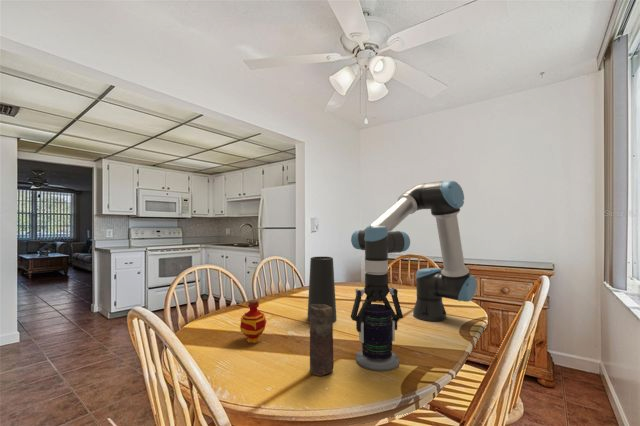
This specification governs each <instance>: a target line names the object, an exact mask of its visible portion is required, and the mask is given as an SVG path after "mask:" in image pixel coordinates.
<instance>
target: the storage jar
mask: <svg viewBox="0 0 640 426" xmlns="http://www.w3.org/2000/svg"><path fill="white" fill-rule="evenodd" d="M392 309H393V307H392V308H391V309H388V308H387V307H386V306H385V304H384V303H383V304H382V303H371V304H370V305H369V307H368V309H367V310H365V309H364V312H365V314H364V317H363V319H362V321H363V323H364V343H361V348H362V349H361V350H362V353H363V355H364V356H365V357H367V358H370V359H374V360H385V359H389V358H390V357H391V356H392V351H393V341H392V337H391V326H392V313H391V311H392Z"/></svg>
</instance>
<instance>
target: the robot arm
mask: <svg viewBox="0 0 640 426" xmlns="http://www.w3.org/2000/svg"><path fill="white" fill-rule="evenodd" d="M464 200H465V194H464V191H463V187H461V185H460V184H459V183H458V182H457V181H455V180H441V181H435V182H434V181H433V182H426V183H425V182H424V183H423V182H422V183H419V184H417V185H414V186H413V187H411V188H410V189H408V190H406V191H405V192H403V193H402V194H401V195H400V196H399V197H398V198H397V201H396V202H395V203H394V204H393V205H391V206H390V207H389V208H388V209H387V210H386V211H384V212H383V213H382V214H380V216H378V217H377V218H376V219H375V220H374V221H373V222H372V223H371V224H369V225H368V226H366V227H365V229H364V230H363V229H360V230H355V231H354V232H353V233H352V235H351V238H350V243H351V245H352V247H353V248H354V249H355V250H359V251H360V250H361V251H364V271H365V274H364V288H362V289H359V288H356V289H355V298H354V302H353V306H352V309H351V310H352V311H351V313H350V319H351V320H352V321H355V326H356V327H355V329H356V331H357V333H358V336H359V337H358V340H359V342H360V343H361V344H362V343H364V323H363V321H362V319H363V317H364V314H365V312H364V309H365V310H367V309H368V307H369V305H370V304H373V302H374V303H376V302H382V303H383V305H385V306H386V307H387V308H388V309H391V308H392V311H391V313H392V326H391V337H392V342H395V341H396V331H397V330H398V322H399V319H403V318H404V315H403V311H402V308H401V305H400V302H399V301H400V300H399V297H398V291H399V290H398V289H397V288H395V287H391V288H389V274H388V272H389V255H388V254H395V253H398V254H400V253H402V252H406V251H407V250H409V248H410V245H411V239H410V236H409V234H407V233H406V232H405V231H401V230H396V231H393V230H394V229H395V228H397V226H399V225H400V223H402V222H403V221H404V220H405V219H406V218H407V217H408V216H409V215H413V214H415V213H416V212H418V211H421V210H430V213H431V215H432V216H433V217H434V218H435V220H436V228H437V235H438V240H439V244H440V245H439V246H440V252H441V258H442V264H443V268H440V267H428V268H427V267H424V268H420V269H418V270H416V274H415V275H416V276H415V280H416V281H415V283H416V300H415V303H414V307H413V310H412V317H414V318H416V319H419V320H423V321H426V322H442V321H445V320H447V311H446V308H445V306H444V303H443V298H444V299H450V300H454V301H458V302H470V301H472V299H473V298H474V297H475V295H476V291H477V286H478V285H477V279H476V276H475V275H473V274H470V270H469V268H468V267H467V266H465V259H464V252H463V246H462V240H461V239H462V238H461V234H460V233H461V232H460V228H459V220H458V219H459V218H458V214H459V213H460V211H461V208H462V207H463V206H464V204H465V201H464ZM364 294H365V295H366V297H365V299H364V301H363V302H364V303H363V305H361V301H362V297H363V296H364ZM388 294H390V296H391V300H392V303H393V307H394V309H393V307H392V305H391V304H390V302H389V300H388V298H387V296H388ZM360 305H361V307H360Z"/></svg>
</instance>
